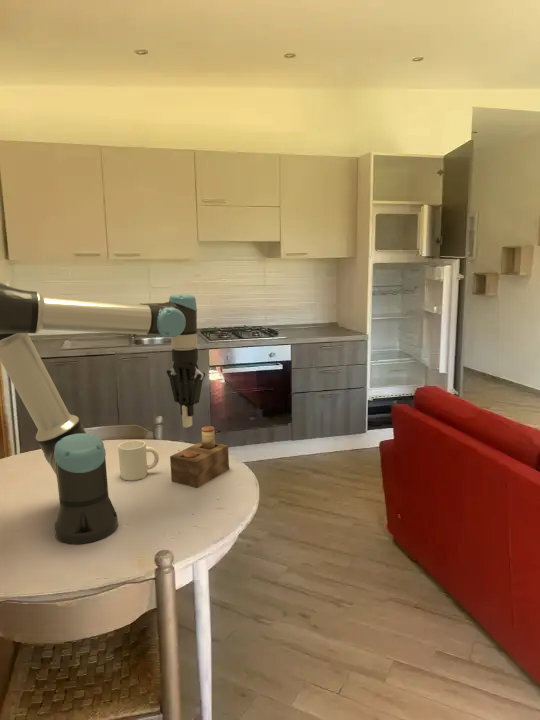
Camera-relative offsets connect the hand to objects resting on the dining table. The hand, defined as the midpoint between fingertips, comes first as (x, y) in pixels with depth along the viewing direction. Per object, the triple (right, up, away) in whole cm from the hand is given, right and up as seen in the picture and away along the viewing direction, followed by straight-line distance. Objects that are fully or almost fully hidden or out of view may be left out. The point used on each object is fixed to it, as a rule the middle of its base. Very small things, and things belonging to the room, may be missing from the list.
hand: (187, 426), depth 164 cm
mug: (-16, -17, +9) cm, 25 cm away
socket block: (+3, -16, +7) cm, 18 cm away
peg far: (+5, -9, +10) cm, 14 cm away
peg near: (+1, -16, +3) cm, 16 cm away
